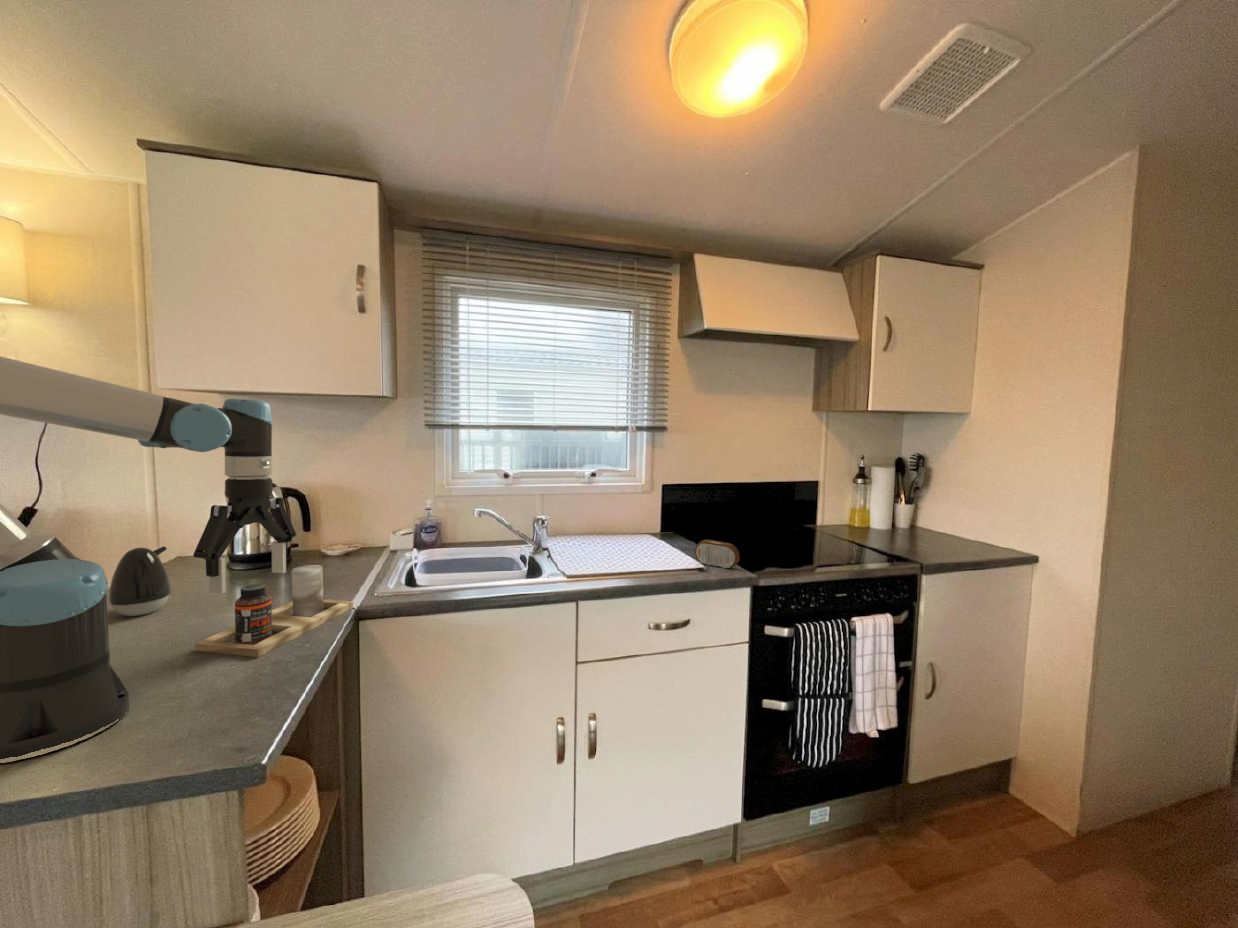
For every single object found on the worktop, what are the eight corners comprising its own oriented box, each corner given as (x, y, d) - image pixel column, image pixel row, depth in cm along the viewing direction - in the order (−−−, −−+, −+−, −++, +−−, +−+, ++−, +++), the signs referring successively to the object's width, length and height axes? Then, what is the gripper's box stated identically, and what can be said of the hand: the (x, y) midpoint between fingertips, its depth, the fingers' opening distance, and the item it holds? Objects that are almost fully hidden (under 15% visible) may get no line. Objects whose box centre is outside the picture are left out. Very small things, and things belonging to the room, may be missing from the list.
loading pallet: (258, 657, 91) (256, 600, 90) (195, 650, 93) (192, 595, 92) (353, 607, 117) (352, 563, 116) (302, 603, 119) (301, 559, 118)
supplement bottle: (252, 648, 94) (250, 592, 93) (227, 645, 95) (225, 590, 95) (279, 636, 100) (278, 583, 99) (256, 633, 101) (254, 581, 101)
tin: (739, 569, 157) (740, 543, 157) (736, 571, 154) (737, 545, 154) (696, 561, 165) (697, 537, 165) (693, 563, 162) (694, 539, 162)
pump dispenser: (183, 606, 115) (180, 544, 114) (129, 623, 105) (125, 555, 104) (153, 601, 118) (151, 540, 117) (98, 617, 108) (94, 551, 107)
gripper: (202, 483, 83) (204, 604, 84) (314, 473, 107) (314, 566, 109) (165, 481, 84) (168, 600, 85) (284, 472, 108) (285, 564, 110)
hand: (250, 581), depth 97 cm, fingers open, 13 cm apart
